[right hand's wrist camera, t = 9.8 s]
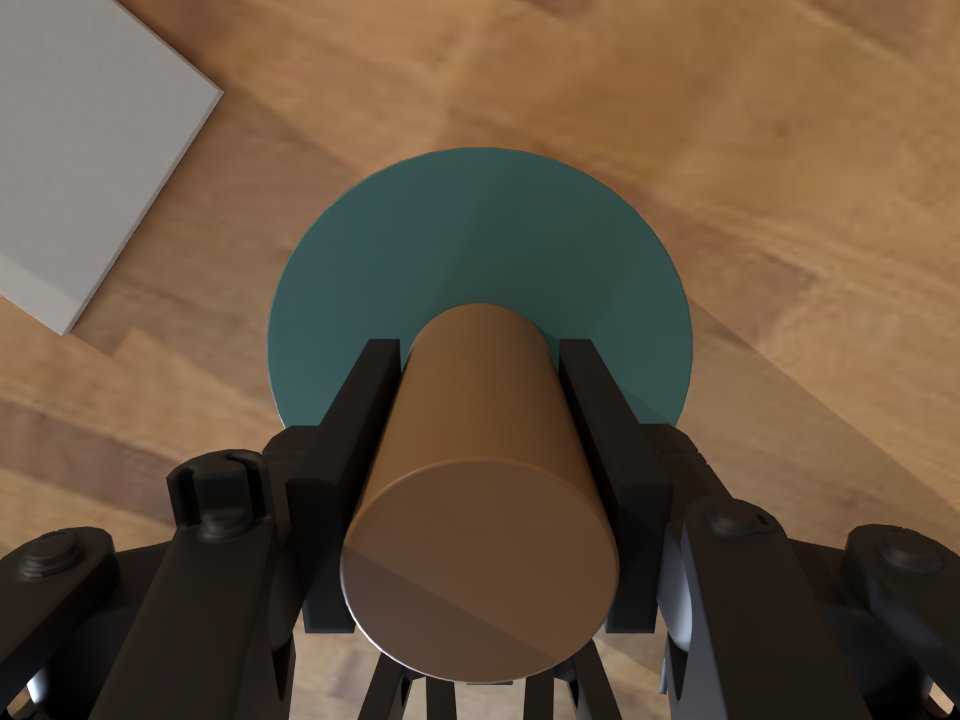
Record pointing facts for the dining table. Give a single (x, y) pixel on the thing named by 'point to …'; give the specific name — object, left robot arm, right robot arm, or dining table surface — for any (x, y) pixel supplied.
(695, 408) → the dining table surface
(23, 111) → the grey mat
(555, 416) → the lid
